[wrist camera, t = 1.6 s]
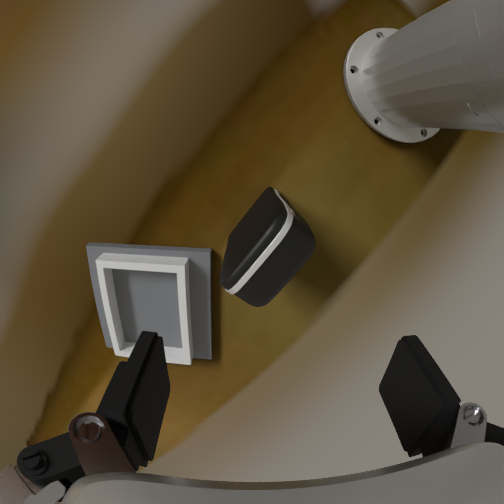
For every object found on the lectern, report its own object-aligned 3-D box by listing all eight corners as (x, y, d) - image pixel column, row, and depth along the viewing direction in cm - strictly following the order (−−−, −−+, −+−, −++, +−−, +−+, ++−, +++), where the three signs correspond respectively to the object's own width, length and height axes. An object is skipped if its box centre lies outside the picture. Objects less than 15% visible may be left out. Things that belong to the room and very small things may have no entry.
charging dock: (211, 248, 30) (207, 260, 27) (212, 354, 35) (209, 370, 32) (90, 242, 29) (77, 252, 27) (109, 342, 34) (101, 356, 32)
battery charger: (256, 259, 30) (260, 324, 20) (226, 238, 29) (214, 295, 19) (300, 206, 28) (331, 248, 18) (269, 182, 28) (283, 210, 17)
